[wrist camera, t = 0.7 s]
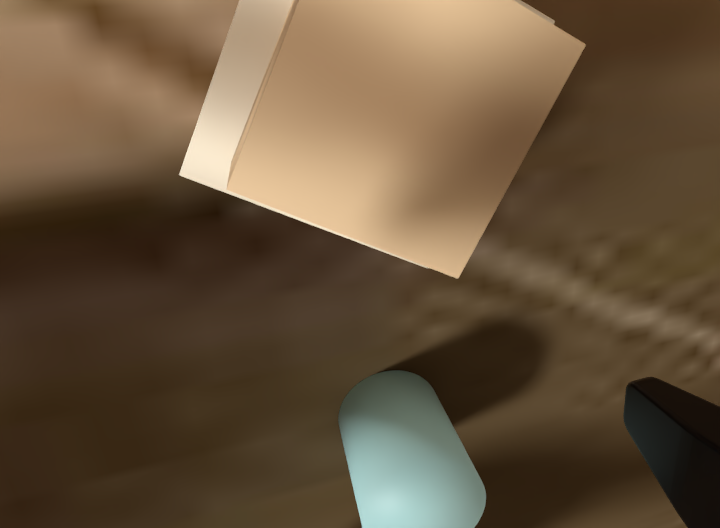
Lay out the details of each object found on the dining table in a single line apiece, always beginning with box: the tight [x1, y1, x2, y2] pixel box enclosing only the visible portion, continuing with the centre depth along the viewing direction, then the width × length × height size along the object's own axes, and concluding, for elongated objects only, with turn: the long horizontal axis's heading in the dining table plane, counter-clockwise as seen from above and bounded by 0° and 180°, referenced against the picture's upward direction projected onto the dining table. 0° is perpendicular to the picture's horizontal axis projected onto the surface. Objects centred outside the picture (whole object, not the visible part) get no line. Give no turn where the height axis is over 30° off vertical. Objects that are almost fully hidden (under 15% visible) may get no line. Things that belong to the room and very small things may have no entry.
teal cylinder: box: [338, 370, 486, 528], centre depth 23 cm, size 5×5×6 cm
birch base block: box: [179, 0, 555, 268], centre depth 18 cm, size 9×9×4 cm
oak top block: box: [226, 0, 586, 279], centre depth 15 cm, size 7×7×4 cm
